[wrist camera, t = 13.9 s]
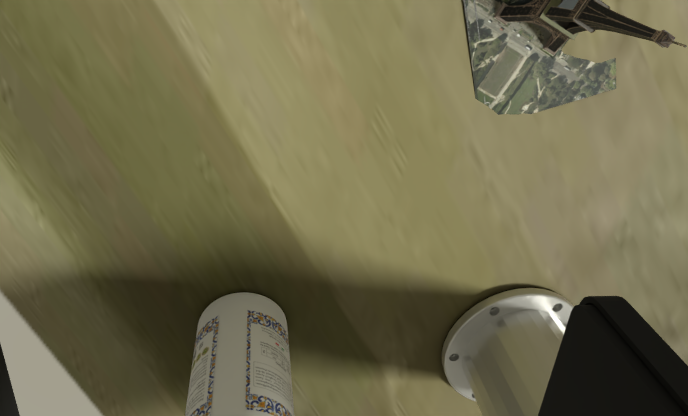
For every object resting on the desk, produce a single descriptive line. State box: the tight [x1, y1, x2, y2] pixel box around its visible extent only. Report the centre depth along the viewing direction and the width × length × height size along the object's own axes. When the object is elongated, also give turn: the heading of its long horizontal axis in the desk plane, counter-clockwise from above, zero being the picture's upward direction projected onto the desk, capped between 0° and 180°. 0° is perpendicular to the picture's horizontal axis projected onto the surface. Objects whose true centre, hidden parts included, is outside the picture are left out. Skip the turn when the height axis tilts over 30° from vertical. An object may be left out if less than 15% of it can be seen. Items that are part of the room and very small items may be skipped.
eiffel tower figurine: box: [463, 0, 687, 115], centre depth 29 cm, size 15×10×13 cm
